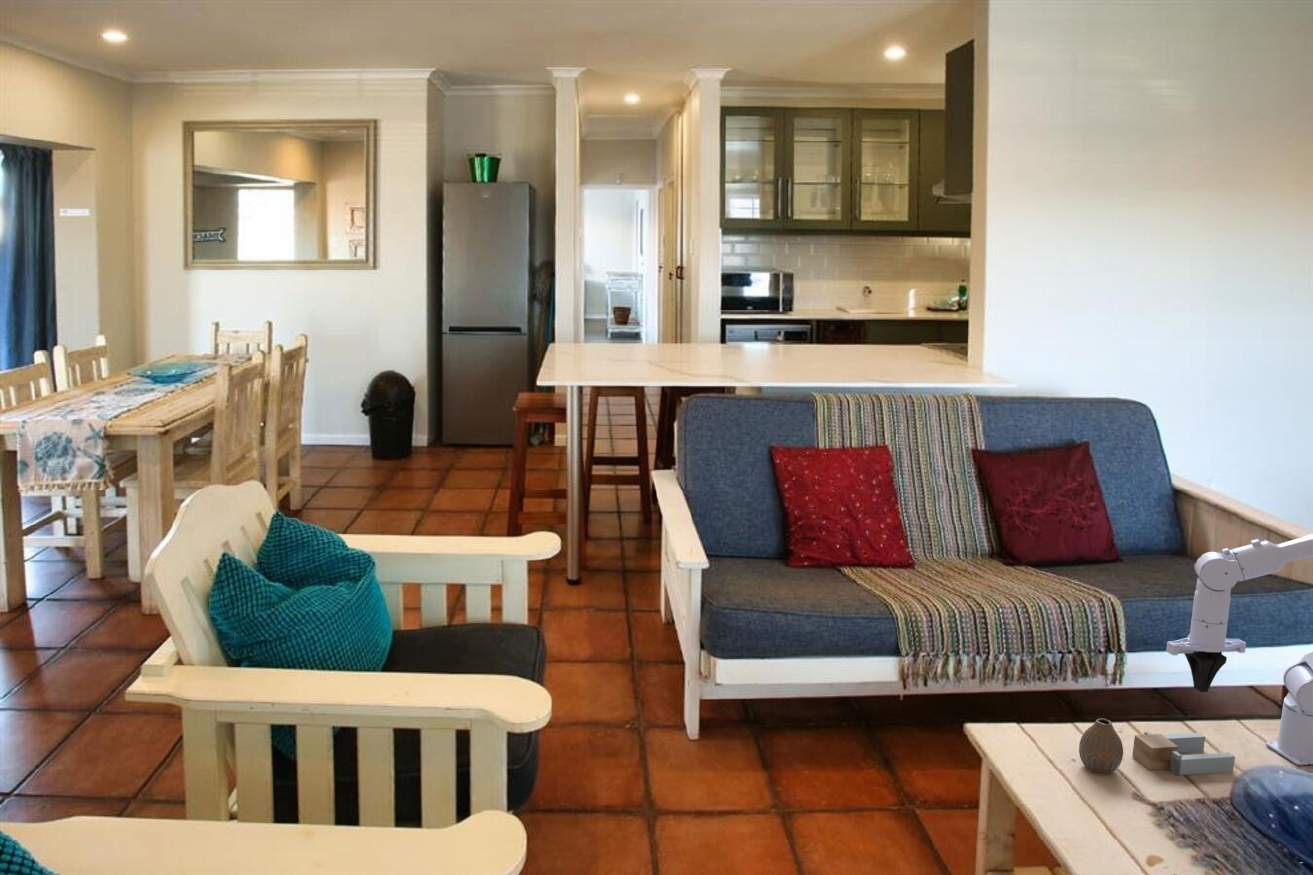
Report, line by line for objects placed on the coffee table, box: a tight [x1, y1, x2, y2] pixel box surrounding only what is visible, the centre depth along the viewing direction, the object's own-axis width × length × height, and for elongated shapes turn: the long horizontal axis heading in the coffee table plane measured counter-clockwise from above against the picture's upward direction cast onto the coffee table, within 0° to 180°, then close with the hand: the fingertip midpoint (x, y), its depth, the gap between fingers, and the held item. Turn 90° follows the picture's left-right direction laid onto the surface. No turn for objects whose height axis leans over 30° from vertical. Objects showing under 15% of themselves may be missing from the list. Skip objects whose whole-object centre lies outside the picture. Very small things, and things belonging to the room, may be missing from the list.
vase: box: [1078, 718, 1124, 776], centre depth 174 cm, size 7×7×9 cm
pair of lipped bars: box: [1143, 730, 1236, 776], centre depth 178 cm, size 11×9×4 cm
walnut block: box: [1132, 733, 1178, 771], centre depth 177 cm, size 5×5×4 cm
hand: (1200, 689), depth 186 cm, fingers closed
